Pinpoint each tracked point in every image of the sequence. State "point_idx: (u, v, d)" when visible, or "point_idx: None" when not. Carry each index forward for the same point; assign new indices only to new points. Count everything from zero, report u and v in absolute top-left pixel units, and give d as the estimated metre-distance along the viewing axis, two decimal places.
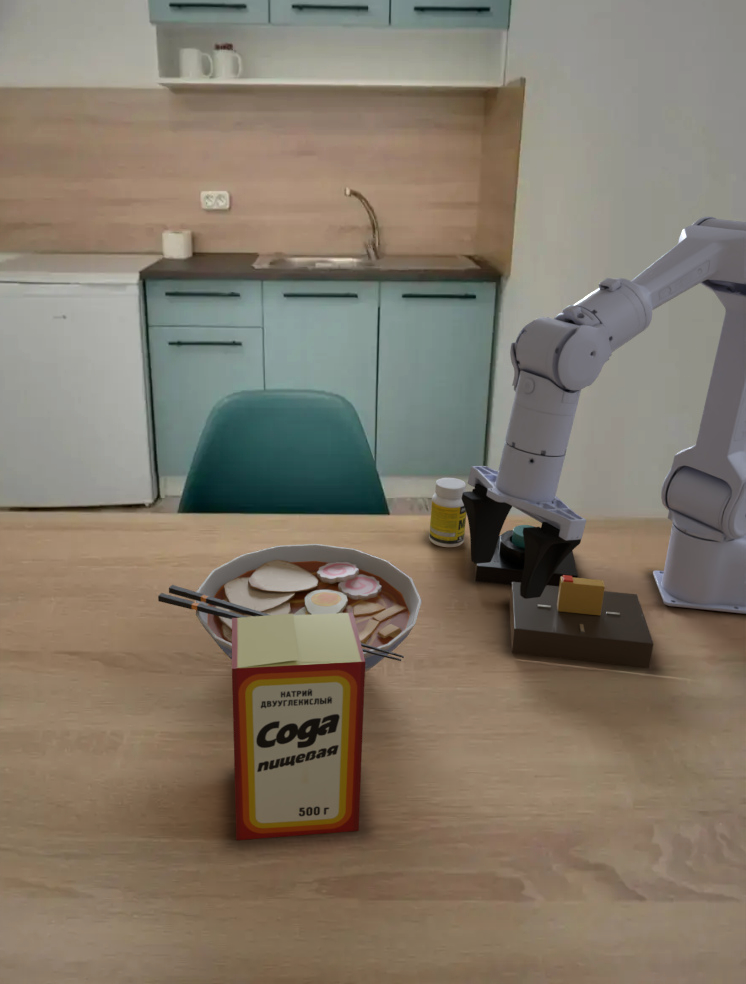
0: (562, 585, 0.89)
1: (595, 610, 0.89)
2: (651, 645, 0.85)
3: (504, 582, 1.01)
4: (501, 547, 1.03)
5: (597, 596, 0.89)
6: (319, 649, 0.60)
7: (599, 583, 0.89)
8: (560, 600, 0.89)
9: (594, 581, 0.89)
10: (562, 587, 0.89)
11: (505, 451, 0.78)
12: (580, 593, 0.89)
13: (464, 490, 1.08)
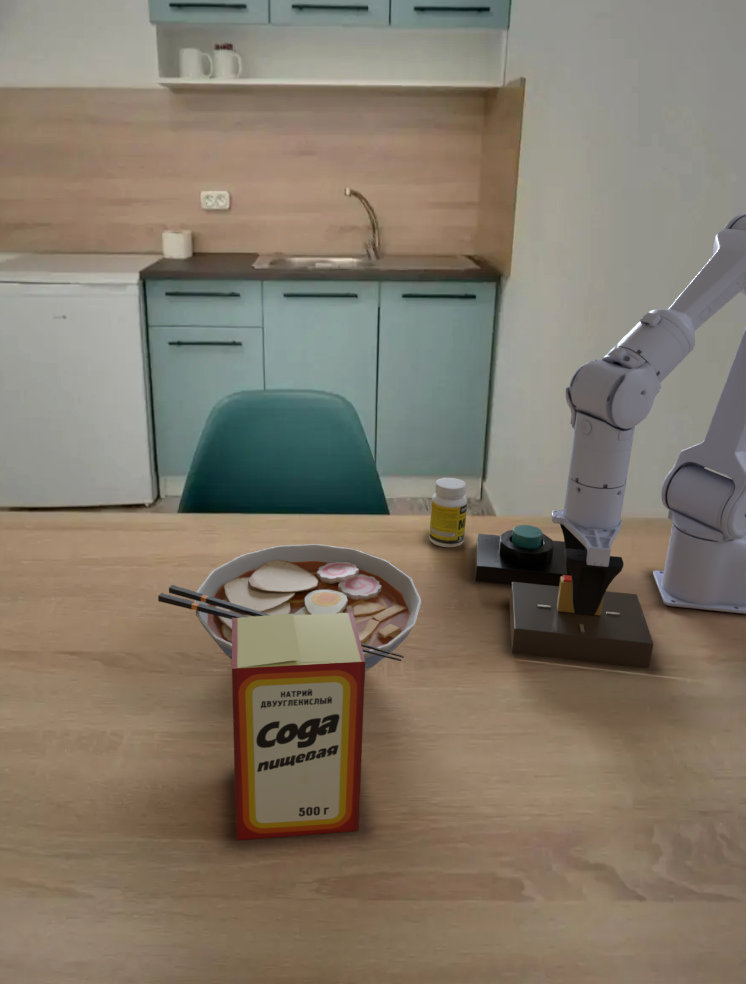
0: (562, 585, 0.89)
1: None
2: (651, 645, 0.85)
3: (504, 582, 1.01)
4: (501, 547, 1.03)
5: None
6: (319, 649, 0.60)
7: None
8: (560, 600, 0.89)
9: None
10: (562, 587, 0.89)
11: None
12: None
13: (464, 490, 1.08)
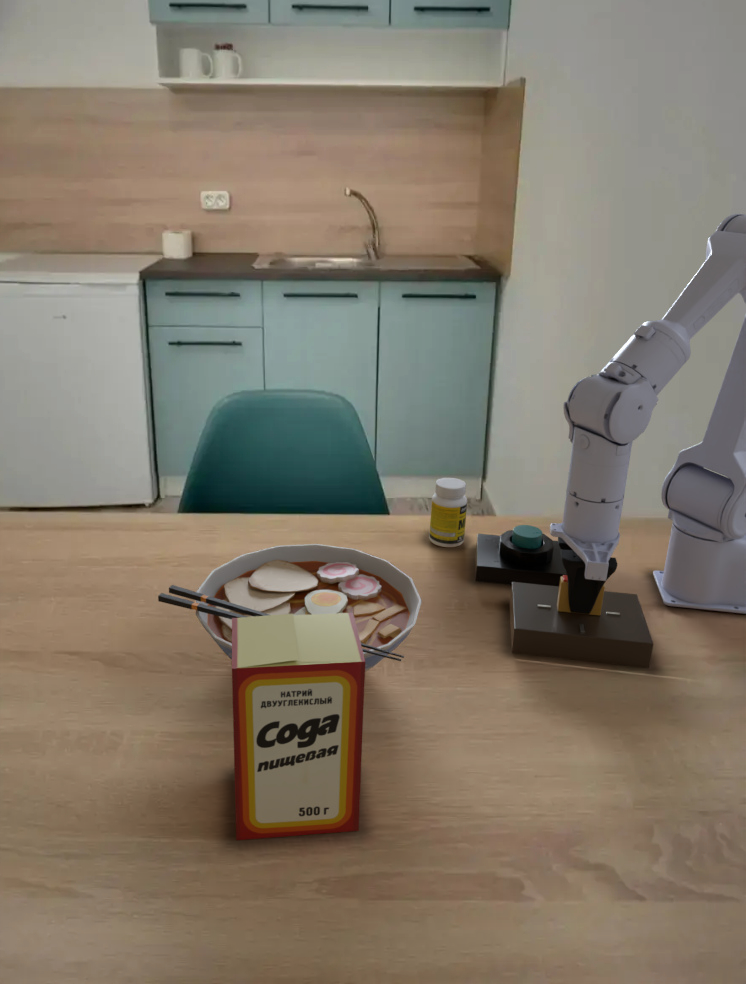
0: (562, 585, 0.89)
1: (595, 610, 0.89)
2: (651, 645, 0.85)
3: (504, 582, 1.01)
4: (501, 547, 1.03)
5: None
6: (319, 649, 0.60)
7: None
8: (560, 600, 0.89)
9: None
10: (562, 587, 0.89)
11: None
12: None
13: (464, 490, 1.08)
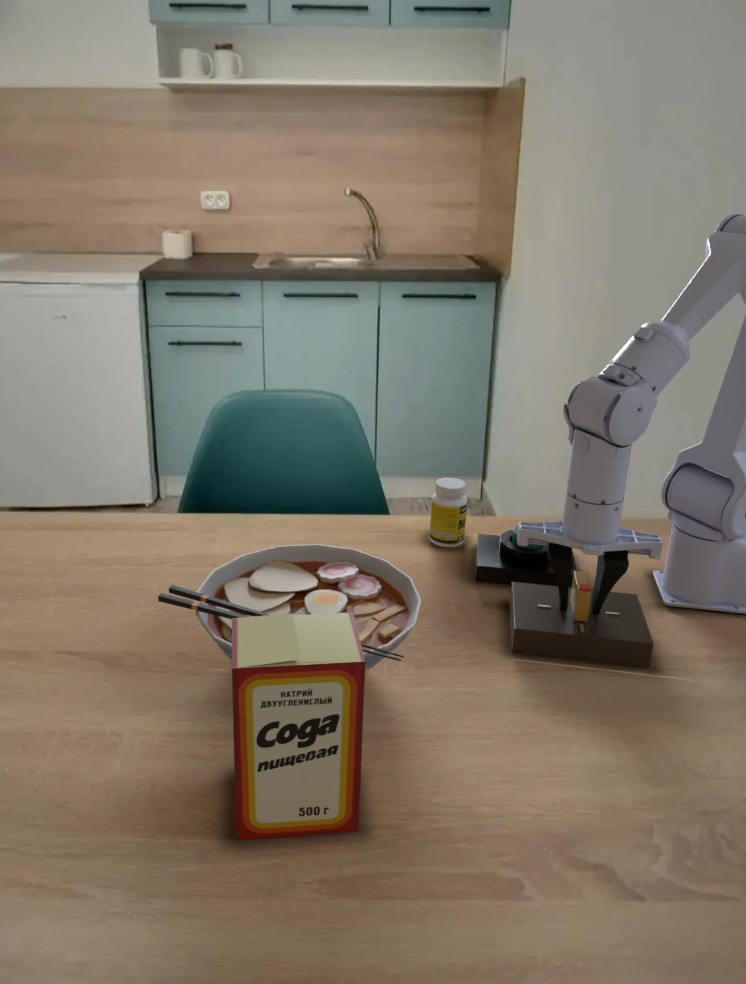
0: (590, 594, 0.87)
1: None
2: (651, 645, 0.85)
3: (504, 582, 1.01)
4: (501, 547, 1.03)
5: None
6: (319, 649, 0.60)
7: (582, 573, 0.91)
8: (588, 610, 0.88)
9: (579, 575, 0.90)
10: (590, 596, 0.87)
11: (587, 509, 0.83)
12: None
13: (464, 490, 1.08)
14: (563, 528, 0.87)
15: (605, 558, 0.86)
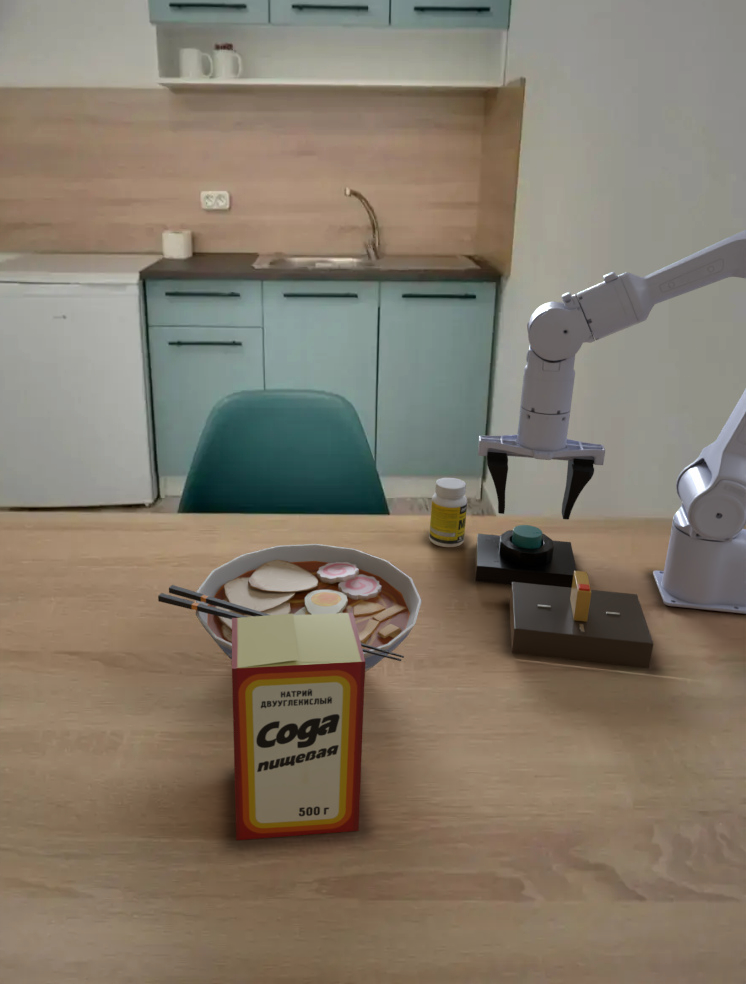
0: (590, 594, 0.87)
1: None
2: (651, 645, 0.85)
3: (504, 582, 1.01)
4: (501, 547, 1.03)
5: None
6: (319, 649, 0.60)
7: (582, 573, 0.91)
8: (588, 610, 0.88)
9: (579, 575, 0.90)
10: (590, 596, 0.87)
11: (538, 419, 0.94)
12: None
13: (464, 490, 1.08)
14: (518, 439, 0.98)
15: (573, 466, 0.97)
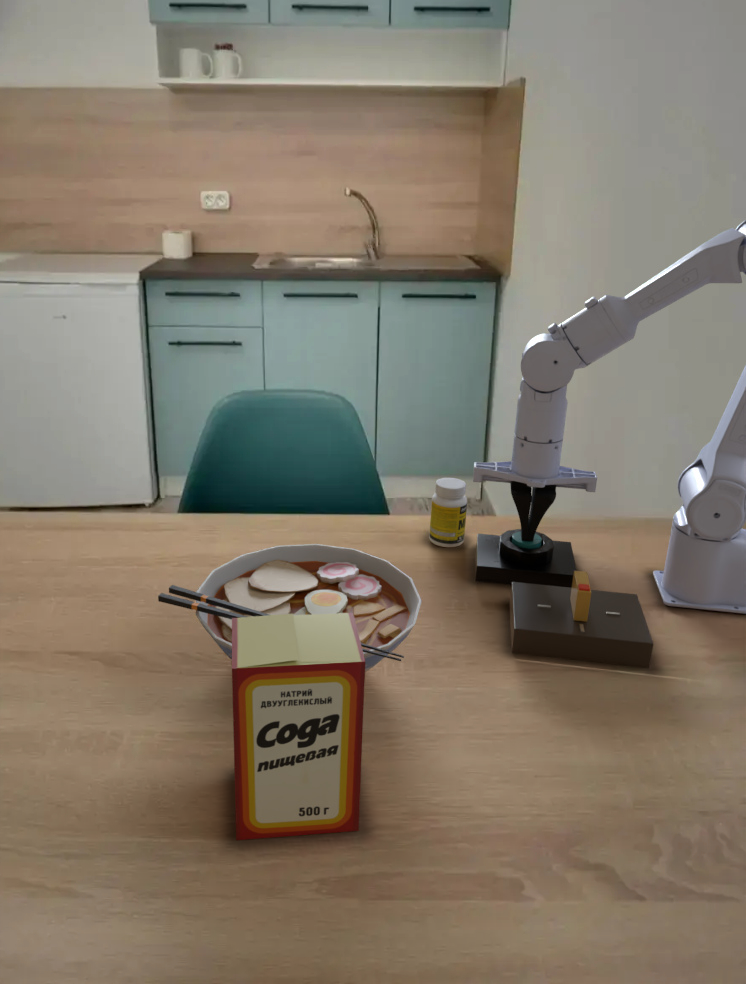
0: (590, 594, 0.87)
1: None
2: (651, 645, 0.85)
3: (504, 582, 1.01)
4: (501, 547, 1.03)
5: None
6: (319, 649, 0.60)
7: (582, 573, 0.91)
8: (588, 610, 0.88)
9: (579, 575, 0.90)
10: (590, 596, 0.87)
11: (531, 448, 0.97)
12: None
13: (464, 490, 1.08)
14: (512, 466, 1.00)
15: (536, 490, 1.00)
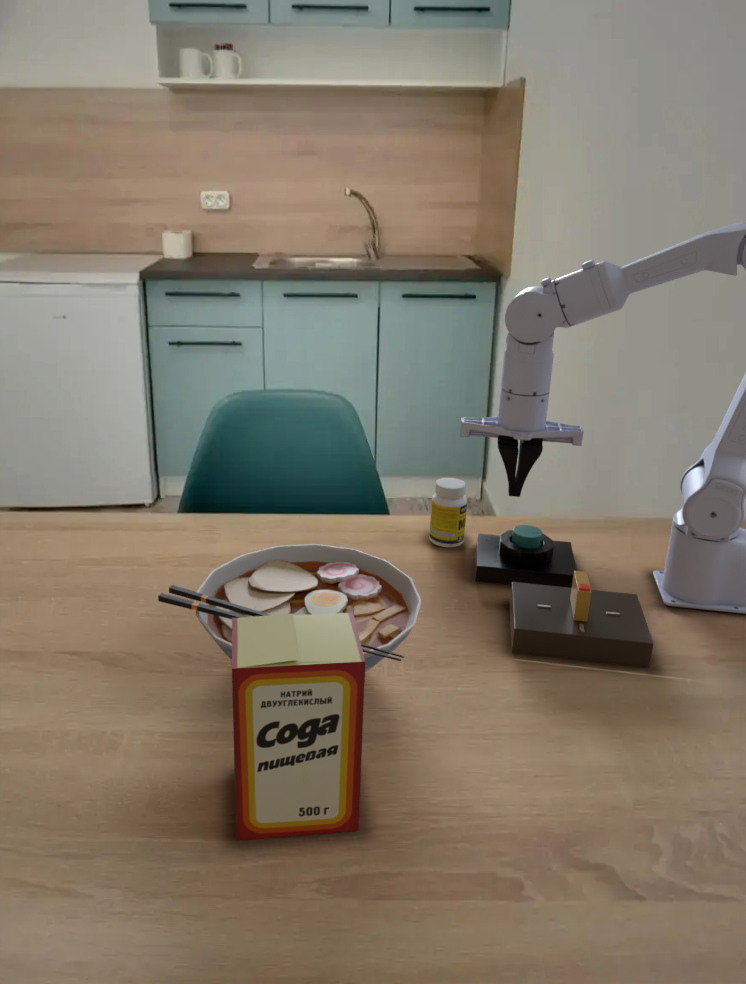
0: (590, 594, 0.87)
1: None
2: (651, 645, 0.85)
3: (504, 582, 1.01)
4: (501, 547, 1.03)
5: None
6: (319, 649, 0.60)
7: (582, 573, 0.91)
8: (588, 610, 0.88)
9: (579, 575, 0.90)
10: (590, 596, 0.87)
11: (517, 400, 0.97)
12: None
13: (464, 490, 1.08)
14: (498, 420, 1.00)
15: (522, 444, 1.00)
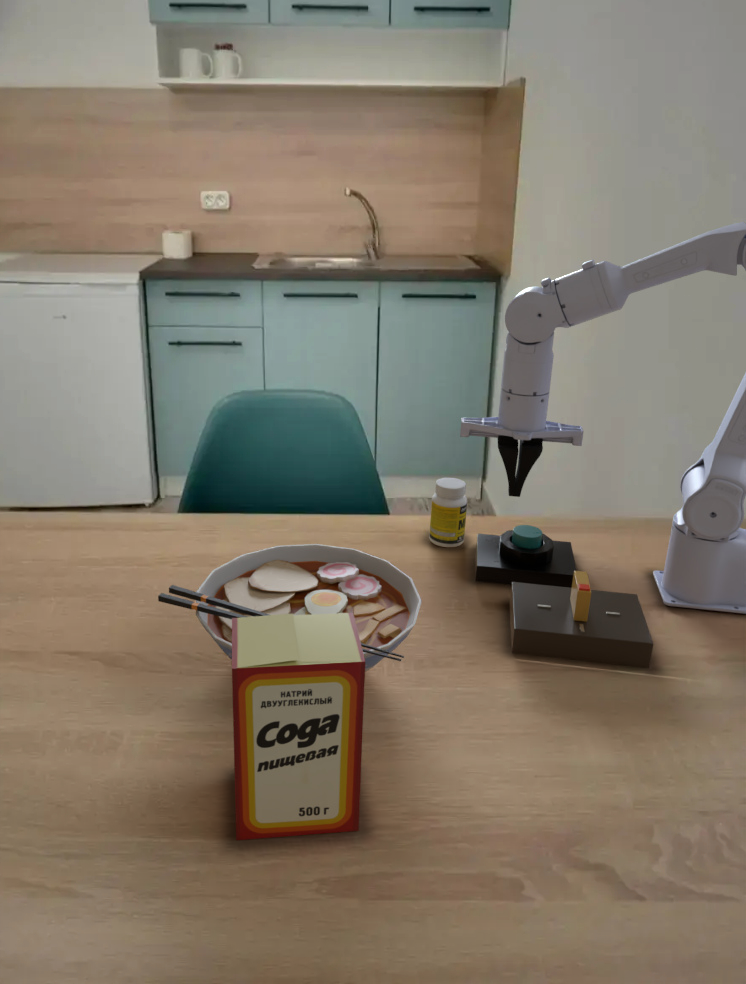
0: (590, 594, 0.87)
1: None
2: (651, 645, 0.85)
3: (504, 582, 1.01)
4: (501, 547, 1.03)
5: None
6: (319, 649, 0.60)
7: (582, 573, 0.91)
8: (588, 610, 0.88)
9: (579, 575, 0.90)
10: (590, 596, 0.87)
11: (517, 400, 0.97)
12: None
13: (464, 490, 1.08)
14: (498, 420, 1.00)
15: (522, 444, 1.00)
